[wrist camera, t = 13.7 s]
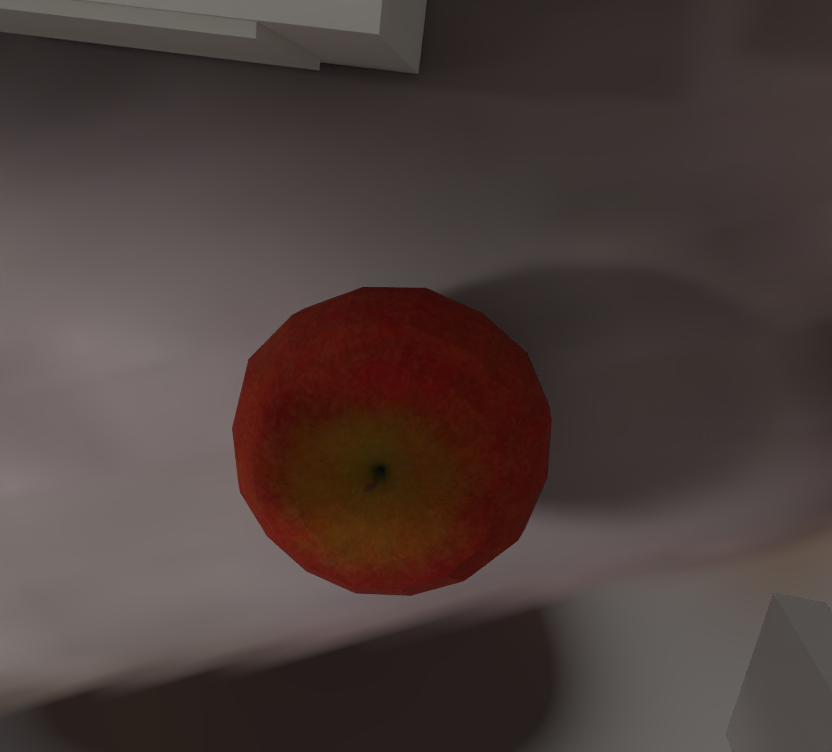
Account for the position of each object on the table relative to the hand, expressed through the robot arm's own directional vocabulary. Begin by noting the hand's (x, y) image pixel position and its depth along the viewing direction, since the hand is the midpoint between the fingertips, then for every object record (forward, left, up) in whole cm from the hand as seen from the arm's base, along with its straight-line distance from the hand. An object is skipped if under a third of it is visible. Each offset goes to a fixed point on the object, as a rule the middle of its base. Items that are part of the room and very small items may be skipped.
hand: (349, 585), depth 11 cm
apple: (0, 0, -11) cm, 11 cm away
